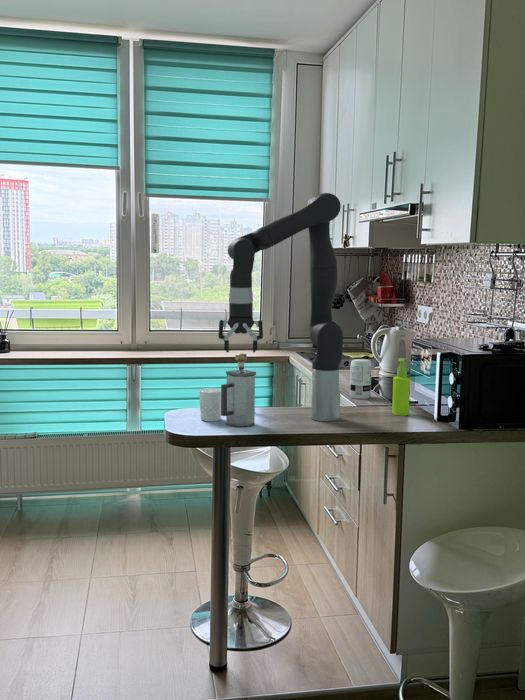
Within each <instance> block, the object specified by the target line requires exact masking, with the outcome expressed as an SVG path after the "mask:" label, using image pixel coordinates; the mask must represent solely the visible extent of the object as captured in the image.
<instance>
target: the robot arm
mask: <svg viewBox="0 0 525 700" xmlns="http://www.w3.org/2000/svg"><path fill="white" fill-rule="evenodd" d="M341 208H342V206H341V201H340V199H339V197H338V196H336V195H335V194H333V193H329V192H323V193H319V194H316V195H313V196H311V197H310V198H309V199H308V201H307V204H306V206H304V207H303V208H301V209H300V210H297V211H295V212H293V213H291V214H287V215H285V216H282V217H280V218H277V219H275V220H273V221H271V222H269V223H267V224H265V225H263V226H261V227H259V228H257V229H256V230H254V231H252V232H249V233H247V234H245V235H242V236H240V237H237V238H235V239H232V241H231V242H230V243H229V245H228V246H227V254H228V256H229V258H231V259H232V261H233V262H232V263H233V264H232V269H231V271H230V274H229V292H228V293H229V294H228V295H229V296H228V302H229V305H228V309H229V310H228V311H229V312H228V320H225V319H220V320H219V324H218V339H219V340H223V341H224V343H223V345H224V346H223V347H224V348H223V349H224V351H226V352H225V353H230V340H229V339H230V337H232V335H233V334H234V333H235V334H236V335H237V334H249V336H250V337H251V338H252V353H256V352H257V350H258V341H259V340H261V339H264V331H263V320H262V319H258V320H254V319H253V318H254V317H253V315H254V312H253V311H254V309H253V308H254V307H253V304H254V303H253V302H254V301H253V300H254V298H253V297H254V296H253V295H254V293H253V276H252V274H253V270H254V263H255V255H256V253H258V252H261V251H264V250H267V249H269V248H272V247H274V246H276V245H277V244H280V243H282V242H284V241H285V240H287V239H289V238H291V237H293V236H295V235H296V234H298V233H300V232H302V231H304V230H306V229H307V230H308V235H309V236H308V238H309V239H308V241H309V246H308V248H309V283H310V304H311V305H310V306H311V308H310V323H309V338H310V341H311V342H312V344H313V345H314V346H315V347H316V356H315V358H314V359H313V360H312V364H311V368H312V369H311V397H310V398H311V402H310V403H311V407H310V408H311V409H310V419H311V420H313V421H317V422H318V421H319V422H334V421H337V420H339V419H340V418H341V417H340V416H341V390H340V364H341V363H342V360H343V348H344V347H343V346H344V334H343V333H344V332H343V330H342V328H341V326H340V325H339V324H337V323H335V322H333V314H332V305H333V301H334V298H335V294H336V290H337V287H338V277H339V276H338V259H337V255H336V253H335V249H334V247H333V244H332V240H331V235H330V234H331V233H330V231H331V230H330V223H331V221H333V220H335V219H336V218H337V217H338V215H339V213H340V211H341ZM226 325H228V326H229V328H230V329H229V331H228V332H227V333H226V334H224V328H225V327H226ZM254 325H255V326H256V327H257V328H258V335H256V333H255V332H254V330H253V329H252V328H253V326H254Z"/></svg>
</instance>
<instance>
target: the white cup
mask: <svg viewBox="0 0 525 700" xmlns="http://www.w3.org/2000/svg"><path fill="white" fill-rule="evenodd" d="M198 392H199V393H198V395H199V411H200V420H201V421H203V420H204V421H203V422H210V421H211V422H218V420H219V421H221V420H220V419H222V416H221V388H215V387H214V388H212V387H211V388H210V387H206V388H201V389H199V390H198Z"/></svg>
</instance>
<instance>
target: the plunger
mask: <svg viewBox="0 0 525 700" xmlns="http://www.w3.org/2000/svg"><path fill="white" fill-rule="evenodd" d="M247 356H248V354H247V353H235V361H236V362H237V370H239V372H243V370H245V362H246V361H247V358H248V357H247Z"/></svg>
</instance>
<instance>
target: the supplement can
mask: <svg viewBox="0 0 525 700" xmlns="http://www.w3.org/2000/svg"><path fill="white" fill-rule="evenodd" d="M372 366H373V365H372V362H371V360H370V359H366V358H352V360H351V362H350V372H349V373H350V374H349V375H350V376H349V377H350V378H349V397H350V398H352V399H355V400H356V399H357V400H367V399H369V398H370V397H371V395H372V394H371V393H372V392H371V391H372V389H371V388H372Z"/></svg>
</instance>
